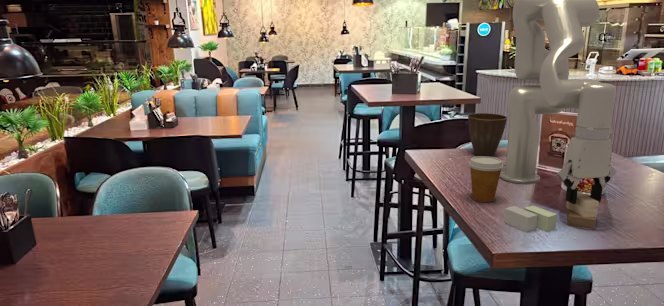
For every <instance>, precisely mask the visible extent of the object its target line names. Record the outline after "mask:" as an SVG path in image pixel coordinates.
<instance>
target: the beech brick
mask: <svg viewBox="0 0 664 306" xmlns="http://www.w3.org/2000/svg"><path fill="white" fill-rule="evenodd" d="M599 203H600V202H599V201H597V200H595V199H593V198H591V197H590V195H586V194H585V193H583V192H579V191H578V192H577V200H576V204H572V203H570V202H568V201H566V206H565V207H566V208H567V209H568V208H569V209H570V210H572V211H574V212H576V213H577V214H579V215H581V216H583V217H597V216H598V211H599Z"/></svg>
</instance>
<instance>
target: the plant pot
mask: <svg viewBox="0 0 664 306" xmlns="http://www.w3.org/2000/svg"><path fill="white" fill-rule="evenodd" d="M467 121H468V131H469V136H470V137H469V138H470V142H471V147H472V150H473V153H474V156H476V157H478V156H487V157H494V155H495V154H496V151H497V149H498V148H499V145H500V142H501V140H502V138H503V135H504V132H505V129H506V125H507V121H508V116H506V115H504V114H503V115H502V114H497V113H488V112H487V113H486V112H484V113H483V112H482V113H481V112H480V113H479V112H478V113H470V114H468V115H467Z"/></svg>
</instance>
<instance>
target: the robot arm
mask: <svg viewBox="0 0 664 306" xmlns="http://www.w3.org/2000/svg"><path fill="white" fill-rule="evenodd" d="M599 16H600V7H599V3H598V1H597V0H515V2H514V4H513V8H512V23H513V28H514V32H515V40H516V41H515V53H514V55H515V56H514V57H515V58H514V73H515V76H516V78H517V79H519V80H521V81H529V82H531V81H532V82H533V81H534V82H535V81H539V84H523V85H518V86H515V87H513V88H512V89H511V90H510V91H509V93H508V99H507V100H508V101H507V102H508V111H509V112H508V113H509V121H508V134H507V147H506V148H507V149H506V158H505V161H504V162H502V164H503V167H504V170H503V171H501V172H500V176H499V178H501V179H502V180H504V181H505V182H509V183H514V184H518V185H519V184H521V185H529V184H536V183H539V182H541V177H540V175H538V174H537V173H536V171H537V163H538V162H537V161H538V153H539V145H540V144H539V143H540V134H541V126H540V124H539V122H538V121H537V119H536V118H535V115H536V116H537V115H554V114H559V113H561V112H562V111H563V110H566V109H567V110H570V109H571V110H573V109H575V110H576V109H577V115H576V123H575V124H576V125H575V130H574V136H573V137H571V138H570V141H569V144H568V146H567V149H566V152H565V158H564V162H563V167H562V168H561V169H560V170H559V171H558V172H557V174H556V175H557V177H558V178H559V179H560V180H561V182H562V183H563V184H564V186H565V187H566V193H565V201H566V202H567V201H568V202H570V203H572V204H576V200H577V192H579V191H578V189H577V187H578V184H579V182H580V180H587V179H593V183H592V184H591V187H590V195H589V197H591V198H593V199H595V200H597V201H599V203H601V201H602V196H603V189H604V188H605V187H607V184H608V183H609V182H610V180H611V178H613V177H614V176H615V175H617V174H616V173H617V171H616V170H615V169H614V167H613V166H612V152H613V151H612V150H613V148H612V146H613V145H612V139H611V138H610V137H611V134H613V133H614V128H613V127H612V124H613V116H614V111H615V110H614V109H615V104H616V103H615V102H616V97H617V87H616V85H614V84H611V83H606V82H600V81H599V80H596V79H576V78H575V79H569V75H570V73H569V72H570V63H569V58H571V57H574V55H577V54H578V53H580V52H581V51H582V50H583V48H584V47H585V46H586V39H585V36H584V33H583V28H589V27H591V26H593V25H594V24H595V23H596V22H597V21H598V19H599ZM538 21H543V24H544V29H545V32H544V30H543V28H542V26H541V25H540V23H539V22H538ZM546 37H547V42H548V46H549V50H548V49H547V50H546ZM567 175H568V176H567Z"/></svg>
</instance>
